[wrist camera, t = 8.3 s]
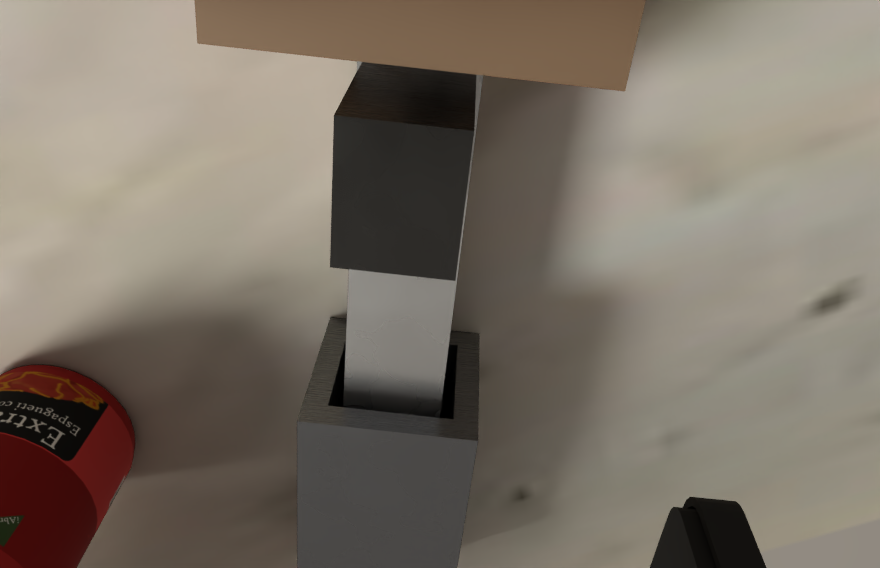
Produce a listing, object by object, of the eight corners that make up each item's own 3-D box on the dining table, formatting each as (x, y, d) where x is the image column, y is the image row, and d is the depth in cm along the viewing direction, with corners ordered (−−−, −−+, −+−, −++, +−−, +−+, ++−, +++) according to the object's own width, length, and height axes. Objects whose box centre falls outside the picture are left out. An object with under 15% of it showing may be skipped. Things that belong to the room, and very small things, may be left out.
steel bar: (436, 431, 33) (422, 604, 26) (352, 422, 33) (314, 592, 26) (500, -79, 23) (507, -32, 15) (378, -93, 23) (326, -53, 15)
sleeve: (446, 552, 40) (439, 672, 34) (324, 539, 40) (297, 657, 34) (479, 333, 32) (478, 441, 27) (330, 317, 32) (297, 421, 27)
